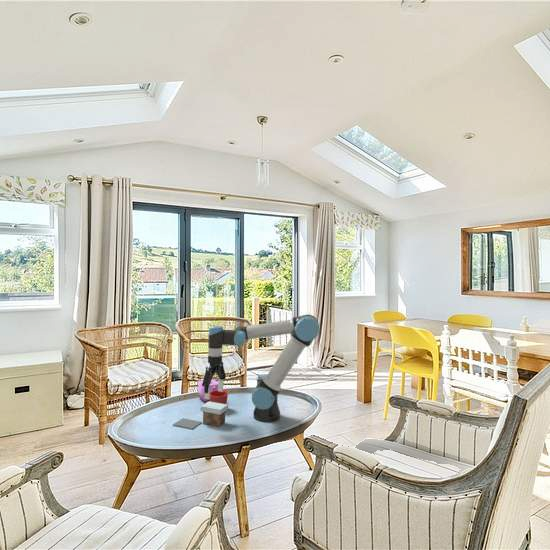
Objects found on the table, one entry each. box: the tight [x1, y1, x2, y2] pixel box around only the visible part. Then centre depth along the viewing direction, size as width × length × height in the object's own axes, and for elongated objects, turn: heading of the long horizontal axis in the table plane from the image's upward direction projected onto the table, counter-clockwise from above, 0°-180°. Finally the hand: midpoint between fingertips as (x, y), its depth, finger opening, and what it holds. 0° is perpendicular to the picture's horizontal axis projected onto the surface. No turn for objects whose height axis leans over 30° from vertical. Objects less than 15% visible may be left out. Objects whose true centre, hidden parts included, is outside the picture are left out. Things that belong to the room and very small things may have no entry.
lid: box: [200, 401, 229, 414], centre depth 197 cm, size 12×8×4 cm, turn 68°
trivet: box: [172, 418, 203, 430], centre depth 195 cm, size 12×9×1 cm
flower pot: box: [209, 390, 229, 404], centre depth 217 cm, size 11×11×10 cm
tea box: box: [202, 411, 226, 428], centre depth 197 cm, size 10×6×7 cm, turn 68°
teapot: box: [197, 378, 218, 404], centre depth 232 cm, size 20×10×12 cm, turn 28°
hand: (213, 395), depth 197 cm, fingers open, 13 cm apart
